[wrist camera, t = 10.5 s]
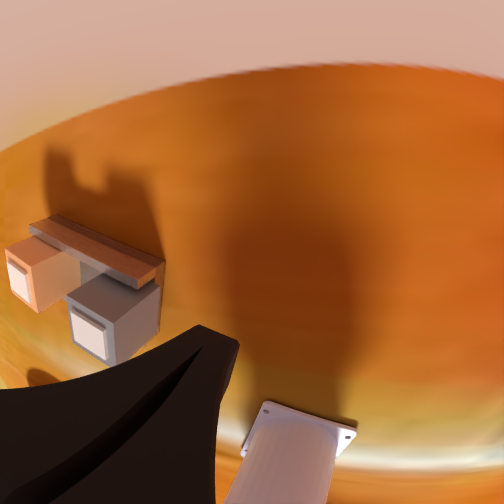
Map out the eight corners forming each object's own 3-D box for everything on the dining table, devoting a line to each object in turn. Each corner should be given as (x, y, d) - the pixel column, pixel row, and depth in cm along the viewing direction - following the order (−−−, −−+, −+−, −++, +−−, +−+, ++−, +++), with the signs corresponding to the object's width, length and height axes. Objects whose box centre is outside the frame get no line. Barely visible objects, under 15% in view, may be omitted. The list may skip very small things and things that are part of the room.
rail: (159, 332, 23) (136, 354, 21) (59, 277, 26) (36, 290, 23) (165, 261, 21) (137, 280, 18) (56, 214, 23) (29, 224, 20)
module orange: (81, 286, 23) (35, 315, 18) (53, 269, 24) (9, 293, 19) (79, 243, 22) (27, 268, 17) (50, 229, 22) (1, 249, 18)
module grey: (157, 331, 22) (113, 373, 17) (115, 309, 23) (70, 344, 18) (160, 285, 20) (109, 325, 15) (115, 265, 21) (62, 296, 16)
